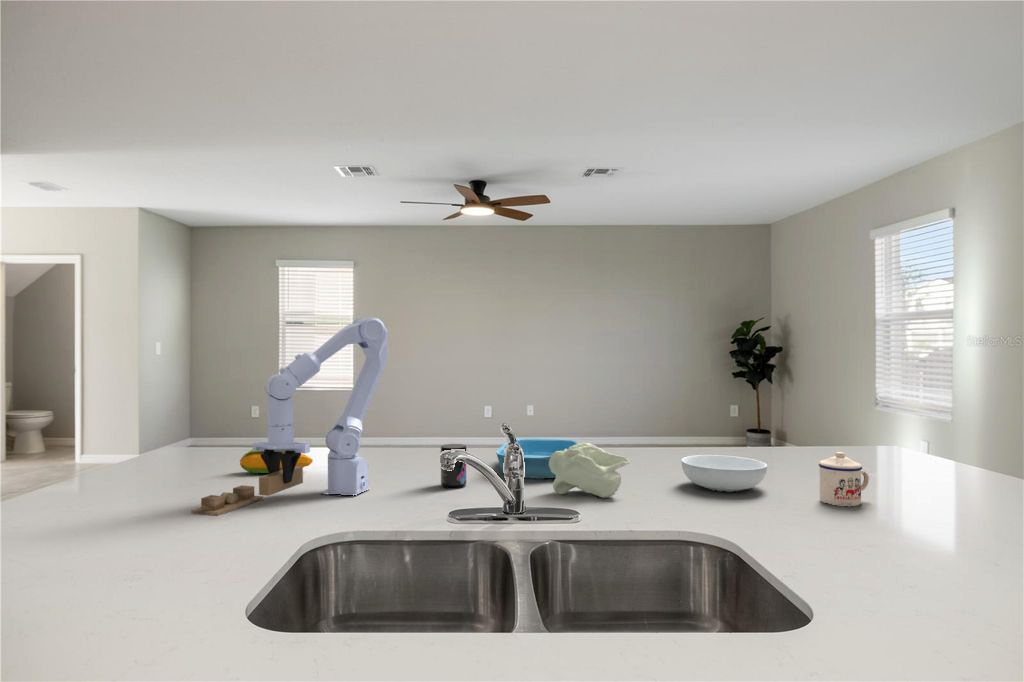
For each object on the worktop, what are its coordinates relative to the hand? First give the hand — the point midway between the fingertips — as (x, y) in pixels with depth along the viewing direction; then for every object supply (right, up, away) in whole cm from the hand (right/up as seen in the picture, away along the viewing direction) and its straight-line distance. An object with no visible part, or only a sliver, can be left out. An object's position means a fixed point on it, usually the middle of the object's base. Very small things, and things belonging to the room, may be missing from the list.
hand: (281, 482), depth 154 cm
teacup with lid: (+133, -4, -2) cm, 133 cm away
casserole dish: (+63, -5, +37) cm, 73 cm away
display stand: (-10, -4, -5) cm, 12 cm away
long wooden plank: (0, -2, 0) cm, 2 cm away
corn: (-12, -4, +31) cm, 33 cm away
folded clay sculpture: (+74, -4, +6) cm, 74 cm away
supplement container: (+40, -4, +14) cm, 42 cm away
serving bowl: (+109, -4, +12) cm, 110 cm away
